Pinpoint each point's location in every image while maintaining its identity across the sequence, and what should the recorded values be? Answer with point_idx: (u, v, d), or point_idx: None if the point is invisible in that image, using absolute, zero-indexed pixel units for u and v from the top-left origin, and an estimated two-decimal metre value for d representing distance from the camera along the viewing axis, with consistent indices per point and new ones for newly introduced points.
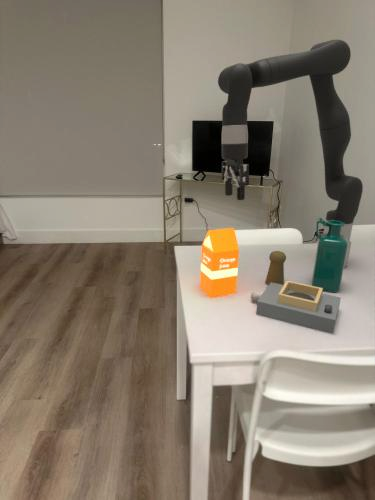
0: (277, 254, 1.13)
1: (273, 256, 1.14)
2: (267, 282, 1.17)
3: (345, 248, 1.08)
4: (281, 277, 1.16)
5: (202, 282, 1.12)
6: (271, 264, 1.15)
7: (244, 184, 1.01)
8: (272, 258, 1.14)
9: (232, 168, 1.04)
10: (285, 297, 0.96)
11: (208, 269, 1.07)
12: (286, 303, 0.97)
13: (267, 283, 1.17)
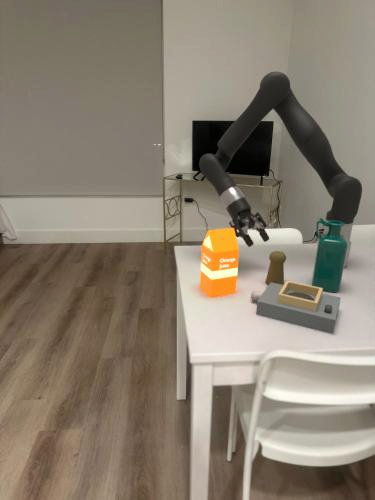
0: (277, 254, 1.13)
1: (273, 256, 1.14)
2: (267, 282, 1.17)
3: (345, 248, 1.08)
4: (281, 277, 1.16)
5: (202, 282, 1.12)
6: (271, 264, 1.15)
7: (238, 234, 1.16)
8: (272, 258, 1.14)
9: None
10: (285, 297, 0.96)
11: (208, 269, 1.07)
12: (286, 303, 0.97)
13: (267, 283, 1.17)
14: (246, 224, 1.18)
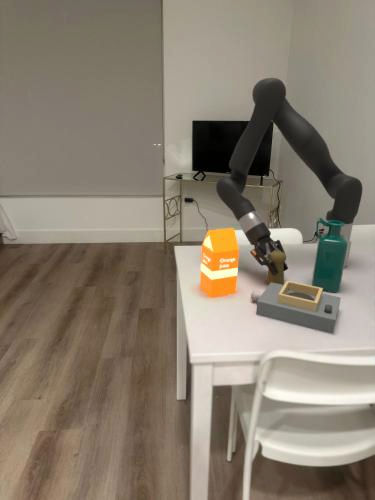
0: (277, 254, 1.13)
1: (273, 256, 1.14)
2: (267, 282, 1.17)
3: (345, 248, 1.08)
4: (281, 277, 1.16)
5: (202, 282, 1.12)
6: None
7: (262, 263, 1.14)
8: (272, 258, 1.14)
9: None
10: (285, 297, 0.96)
11: (208, 269, 1.07)
12: (286, 303, 0.97)
13: (267, 283, 1.17)
14: (268, 251, 1.15)
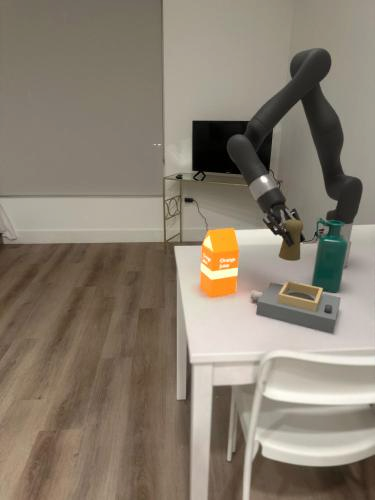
0: (294, 222, 0.99)
1: (288, 225, 1.00)
2: (281, 255, 1.03)
3: (345, 248, 1.08)
4: (297, 249, 1.01)
5: (202, 282, 1.12)
6: None
7: (276, 232, 1.00)
8: (287, 226, 1.00)
9: None
10: (285, 297, 0.96)
11: (208, 269, 1.07)
12: (286, 303, 0.97)
13: (281, 256, 1.03)
14: (283, 219, 1.01)
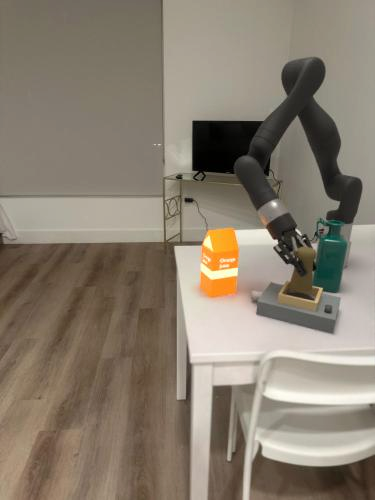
0: (306, 251, 0.93)
1: (301, 253, 0.94)
2: (292, 284, 0.97)
3: (345, 248, 1.08)
4: (310, 278, 0.95)
5: (202, 282, 1.12)
6: None
7: (288, 261, 0.93)
8: (300, 255, 0.94)
9: None
10: (285, 297, 0.96)
11: (208, 269, 1.07)
12: (286, 303, 0.97)
13: (292, 285, 0.97)
14: (295, 247, 0.95)
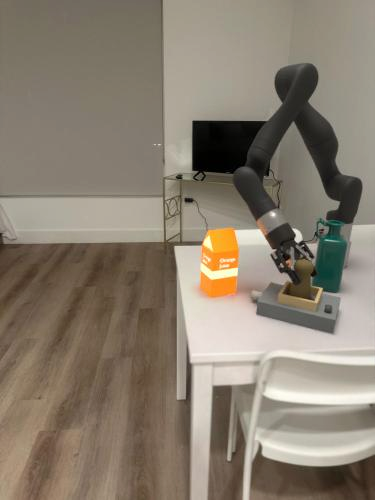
0: (304, 264, 0.95)
1: (298, 266, 0.95)
2: None
3: (345, 248, 1.08)
4: (308, 291, 0.97)
5: (202, 282, 1.12)
6: None
7: (282, 270, 0.94)
8: (297, 268, 0.95)
9: None
10: (285, 297, 0.96)
11: (208, 269, 1.07)
12: (286, 303, 0.97)
13: None
14: (292, 257, 0.95)
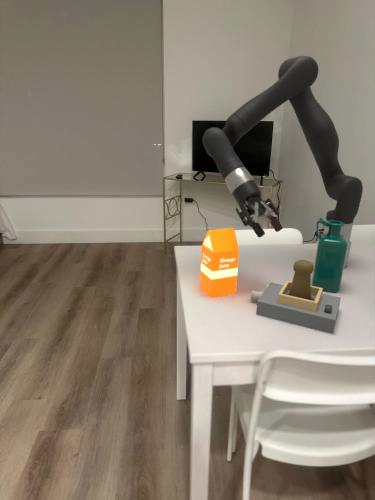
0: (304, 264, 0.95)
1: (298, 266, 0.95)
2: None
3: (345, 248, 1.08)
4: (308, 291, 0.97)
5: (202, 282, 1.12)
6: (296, 275, 0.97)
7: (246, 223, 0.99)
8: (297, 268, 0.95)
9: None
10: (285, 297, 0.96)
11: (208, 269, 1.07)
12: (286, 303, 0.97)
13: None
14: (256, 211, 1.01)
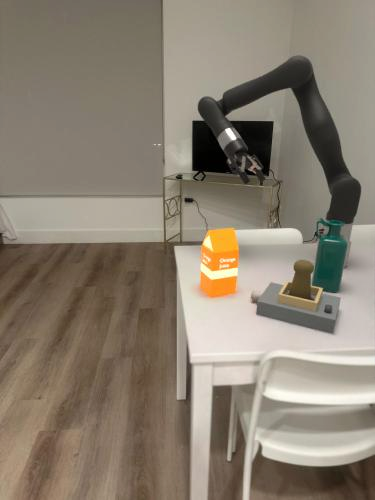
0: (304, 264, 0.95)
1: (298, 266, 0.95)
2: None
3: (345, 248, 1.08)
4: (308, 291, 0.97)
5: (202, 282, 1.12)
6: (296, 275, 0.97)
7: (235, 172, 1.20)
8: (297, 268, 0.95)
9: None
10: (285, 297, 0.96)
11: (208, 269, 1.07)
12: (286, 303, 0.97)
13: None
14: (243, 162, 1.21)
